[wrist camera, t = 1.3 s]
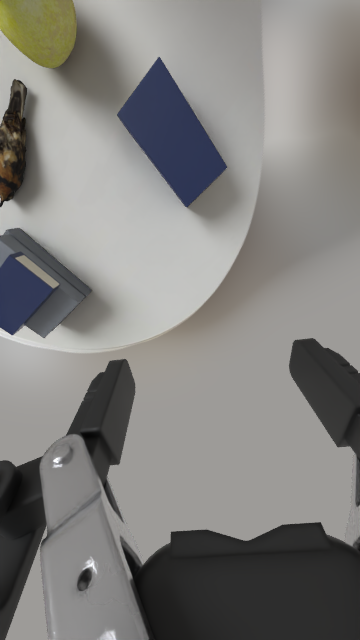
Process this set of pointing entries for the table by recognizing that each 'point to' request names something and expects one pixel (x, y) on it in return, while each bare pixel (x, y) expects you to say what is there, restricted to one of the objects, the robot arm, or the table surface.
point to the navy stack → (171, 134)
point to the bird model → (13, 143)
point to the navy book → (22, 291)
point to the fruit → (40, 28)
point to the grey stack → (70, 286)
